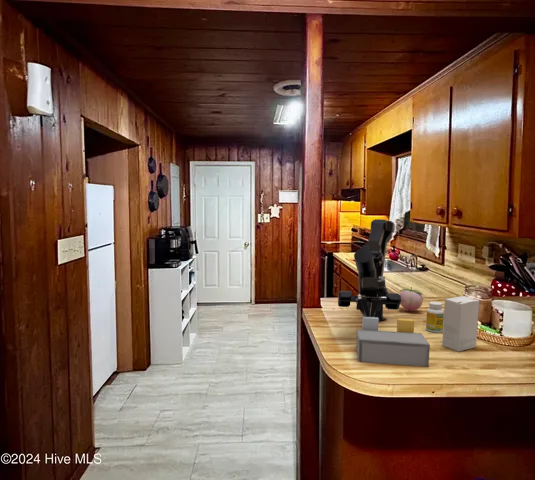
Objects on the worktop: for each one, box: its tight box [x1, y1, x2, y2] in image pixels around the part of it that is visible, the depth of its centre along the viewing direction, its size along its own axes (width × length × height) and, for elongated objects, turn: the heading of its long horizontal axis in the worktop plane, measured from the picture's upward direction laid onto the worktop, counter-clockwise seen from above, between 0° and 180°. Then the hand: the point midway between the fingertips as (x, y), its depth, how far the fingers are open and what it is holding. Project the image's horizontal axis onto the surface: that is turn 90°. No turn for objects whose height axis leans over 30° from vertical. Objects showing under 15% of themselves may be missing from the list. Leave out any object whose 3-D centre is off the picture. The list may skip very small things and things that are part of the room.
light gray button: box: [361, 316, 379, 331], centre depth 111 cm, size 10×4×8 cm, turn 171°
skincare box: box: [441, 295, 480, 352], centre depth 116 cm, size 8×6×15 cm
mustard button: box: [396, 318, 415, 333], centre depth 109 cm, size 10×4×8 cm, turn 171°
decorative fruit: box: [399, 286, 424, 312], centre depth 154 cm, size 9×8×10 cm
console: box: [355, 329, 431, 368], centre depth 107 cm, size 9×18×6 cm, turn 81°
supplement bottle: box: [425, 301, 444, 334], centre depth 131 cm, size 5×5×10 cm
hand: (369, 324), depth 115 cm, fingers closed, pressing on light gray button
